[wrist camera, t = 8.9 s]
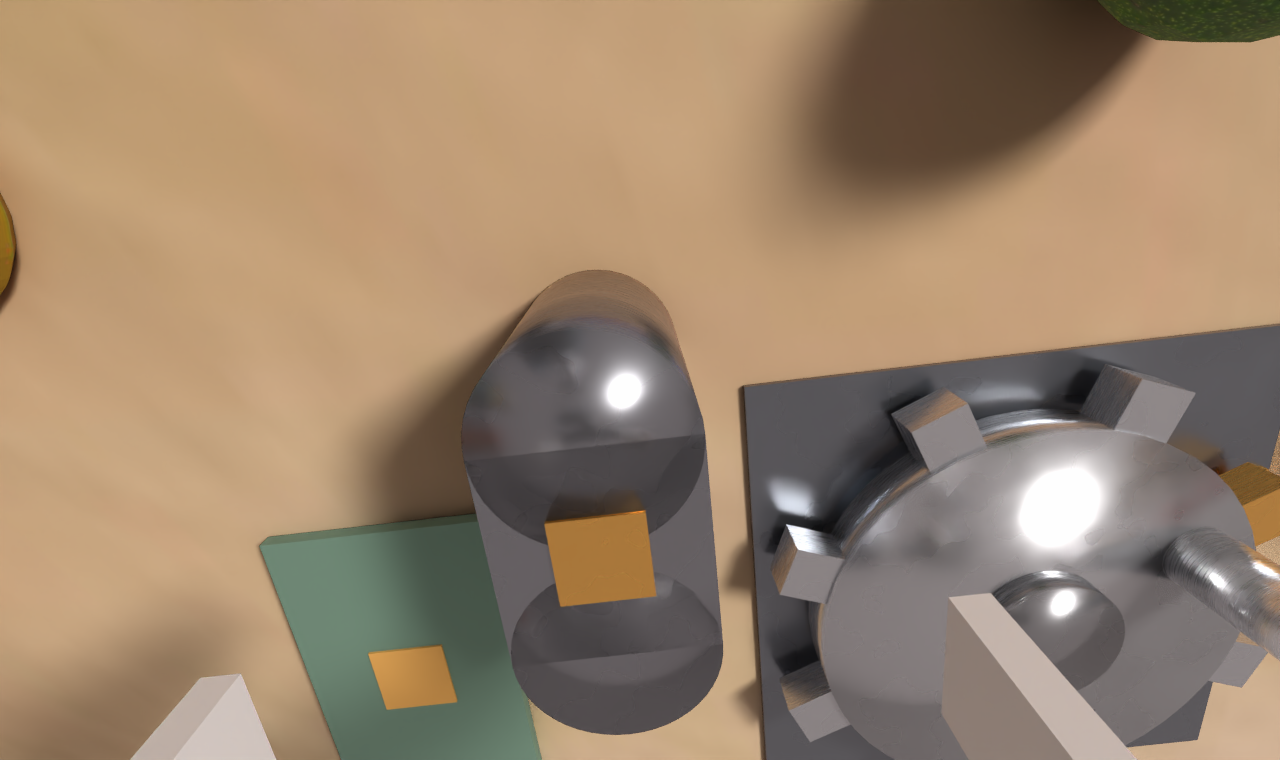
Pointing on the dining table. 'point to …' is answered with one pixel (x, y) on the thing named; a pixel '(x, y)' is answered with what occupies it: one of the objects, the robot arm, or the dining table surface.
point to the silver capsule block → (598, 508)
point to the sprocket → (1037, 565)
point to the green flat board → (404, 640)
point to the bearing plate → (1055, 379)
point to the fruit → (1199, 19)
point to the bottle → (6, 244)
